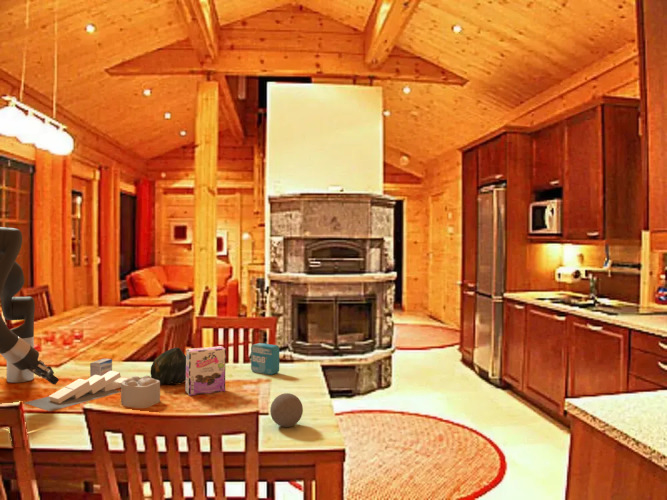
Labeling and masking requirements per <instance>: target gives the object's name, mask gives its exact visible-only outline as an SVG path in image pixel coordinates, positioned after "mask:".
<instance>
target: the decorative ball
mask: <svg viewBox="0 0 667 500" xmlns="http://www.w3.org/2000/svg"><path fill="white" fill-rule="evenodd" d="M302 403H303V402H302V401H301V399H299V397H298V396H296V395H294V394H293V393H287V392H286V393H281V394H279V395H277V396H276V397H275V398H274V399H273V401H272V402H271V405H270V409H269V411H270V416H271V418H272V420H273V422H274V423H275V424H276V425H278V426H279V427H283V428H290V427H293V426H294V425H297V424H298V423H299V421H300V420H301V418H302V416H303V412H304V408H303V404H302Z"/></svg>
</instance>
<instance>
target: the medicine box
mask: <svg viewBox="0 0 667 500" xmlns="http://www.w3.org/2000/svg"><path fill="white" fill-rule="evenodd" d="M89 365H90V366H89V367H90V369H89V373H90V374H89V376H90V377H92V376H94V375H99V376H102V375H104V374H106V373H107V372H109V371H113V359H111V358H101V359H98V360H95V361H93V362H90V364H89ZM90 377H89V378H90Z"/></svg>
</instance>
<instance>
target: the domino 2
mask: <svg viewBox="0 0 667 500" xmlns="http://www.w3.org/2000/svg"><path fill="white" fill-rule="evenodd" d="M86 380H88V381H89V383H90V386H88V387H86V388H85V389H83V390H81V391H80V392H78V393H76V394H75V395H73V396H71V397H72V398H75V399H77V398H79V397H81V396H82V395H84V394H85V393H87V392H89V391H90V390H92V389H94V388H95V387H97V386H98V385H100V384H102V383H103V382H105V381H106V380H105V377H103V376H99V375H94V376H92V377H89V378H87V379H86Z"/></svg>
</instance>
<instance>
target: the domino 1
mask: <svg viewBox="0 0 667 500" xmlns="http://www.w3.org/2000/svg"><path fill="white" fill-rule="evenodd" d="M88 386H90V383H89V381H88V380H87V379H82V378H77V379H76V380H75V381H73V382H71V383H69V384H67V385H65V386H63V387H62V388H61V389H60V388H59V390H57V391H54V392H53V393H52V394H50V395H48V397H49V399H50V401H53V402H56V403H61V402H63V401H65V400H66V399H68V398H70V397H71V396H73V395H75V394H76V393H78V392H80V391H81V390H83V389H85V388H86V387H88Z"/></svg>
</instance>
